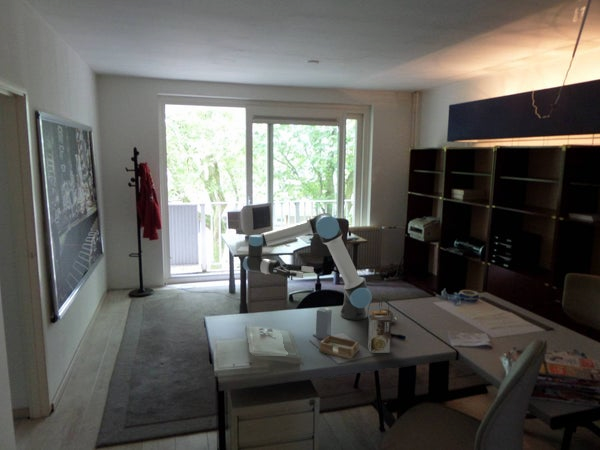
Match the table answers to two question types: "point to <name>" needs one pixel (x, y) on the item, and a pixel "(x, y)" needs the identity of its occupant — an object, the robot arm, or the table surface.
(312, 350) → the table surface
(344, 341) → the pocket tray
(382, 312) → the multimeter
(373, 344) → the coffee box
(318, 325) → the blue-grey rectangular block
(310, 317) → the table surface
